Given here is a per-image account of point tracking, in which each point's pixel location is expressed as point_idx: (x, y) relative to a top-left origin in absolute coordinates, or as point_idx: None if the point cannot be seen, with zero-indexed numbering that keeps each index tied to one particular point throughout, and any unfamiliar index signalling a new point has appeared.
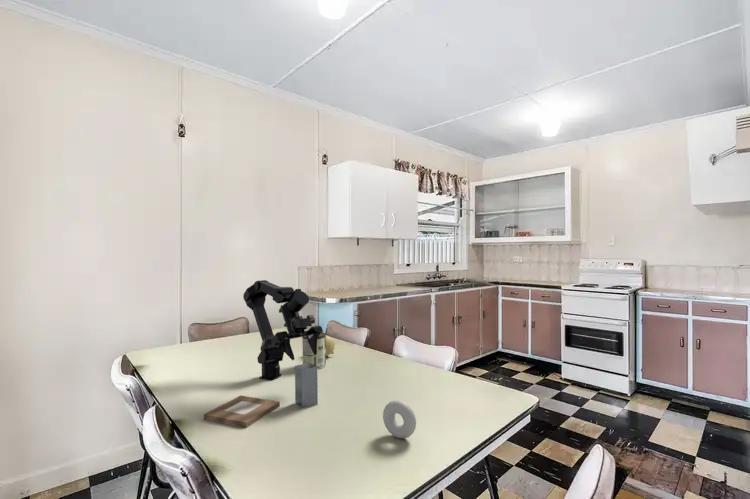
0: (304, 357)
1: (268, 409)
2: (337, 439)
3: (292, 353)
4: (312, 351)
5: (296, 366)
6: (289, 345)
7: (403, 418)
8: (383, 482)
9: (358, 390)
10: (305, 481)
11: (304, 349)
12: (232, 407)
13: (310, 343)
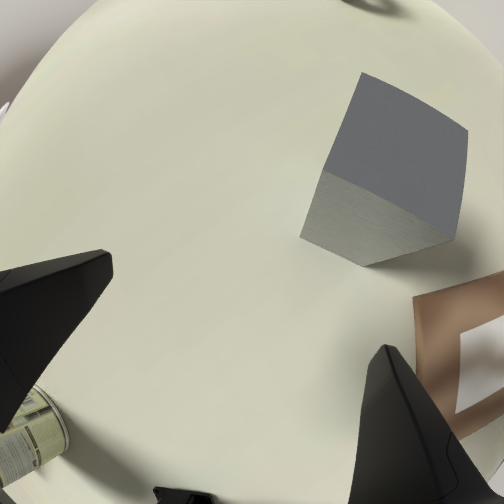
0: (46, 455)
1: (470, 283)
2: (423, 55)
3: (410, 390)
4: (83, 317)
5: (459, 211)
6: (455, 488)
7: None
8: (431, 6)
9: (141, 138)
10: (498, 70)
11: (27, 465)
12: (493, 387)
13: (15, 375)
